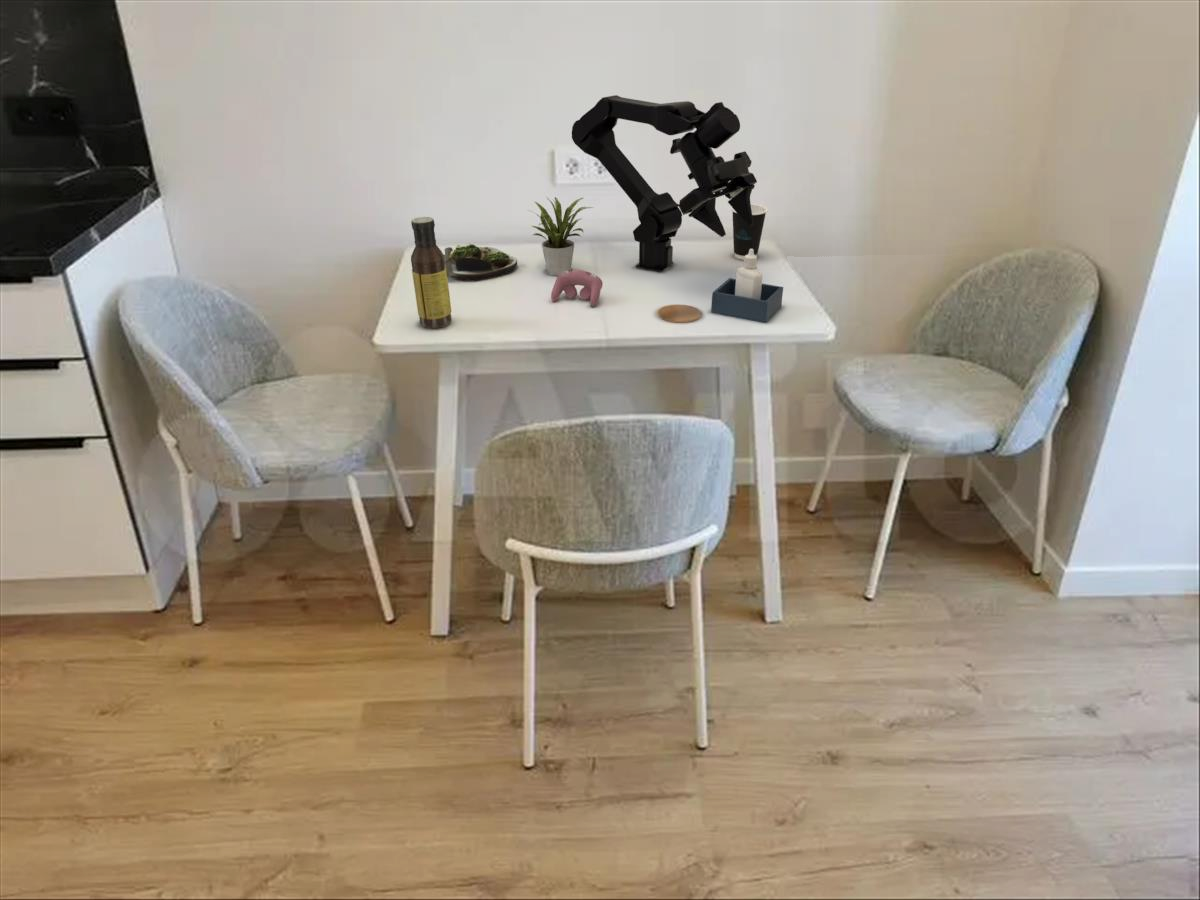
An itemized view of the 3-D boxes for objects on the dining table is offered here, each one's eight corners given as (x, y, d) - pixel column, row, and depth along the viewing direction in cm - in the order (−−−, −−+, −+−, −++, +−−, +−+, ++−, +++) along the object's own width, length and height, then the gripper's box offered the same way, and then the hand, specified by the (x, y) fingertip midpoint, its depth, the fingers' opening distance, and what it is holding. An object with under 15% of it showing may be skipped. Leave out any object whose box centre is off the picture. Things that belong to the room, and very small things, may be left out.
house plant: (603, 262, 198) (603, 189, 189) (590, 283, 186) (589, 206, 178) (541, 258, 200) (538, 186, 192) (524, 279, 189) (521, 202, 180)
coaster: (650, 317, 170) (650, 315, 170) (668, 303, 176) (668, 301, 176) (690, 325, 166) (690, 323, 166) (707, 311, 173) (707, 309, 173)
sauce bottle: (458, 320, 169) (449, 217, 159) (440, 331, 164) (429, 226, 154) (430, 314, 172) (419, 212, 161) (411, 326, 167) (398, 221, 157)
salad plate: (415, 262, 199) (412, 242, 196) (485, 247, 207) (483, 228, 205) (454, 287, 185) (452, 265, 183) (527, 270, 194) (526, 249, 191)
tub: (710, 312, 172) (712, 292, 170) (728, 297, 179) (729, 277, 177) (765, 322, 168) (767, 302, 165) (781, 306, 175) (783, 286, 172)
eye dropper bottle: (738, 314, 171) (743, 254, 165) (732, 304, 176) (737, 245, 169) (760, 314, 171) (766, 253, 165) (754, 303, 176) (759, 244, 170)
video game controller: (601, 308, 178) (606, 274, 177) (594, 306, 174) (599, 270, 173) (555, 303, 181) (560, 268, 180) (548, 300, 177) (553, 265, 176)
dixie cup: (731, 262, 197) (735, 214, 192) (724, 251, 204) (728, 204, 199) (766, 261, 198) (771, 213, 192) (758, 250, 205) (762, 203, 199)
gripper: (697, 147, 164) (736, 221, 165) (756, 131, 176) (792, 200, 176) (661, 178, 173) (698, 248, 174) (720, 160, 185) (754, 227, 185)
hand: (737, 230), depth 177 cm, fingers open, 9 cm apart
